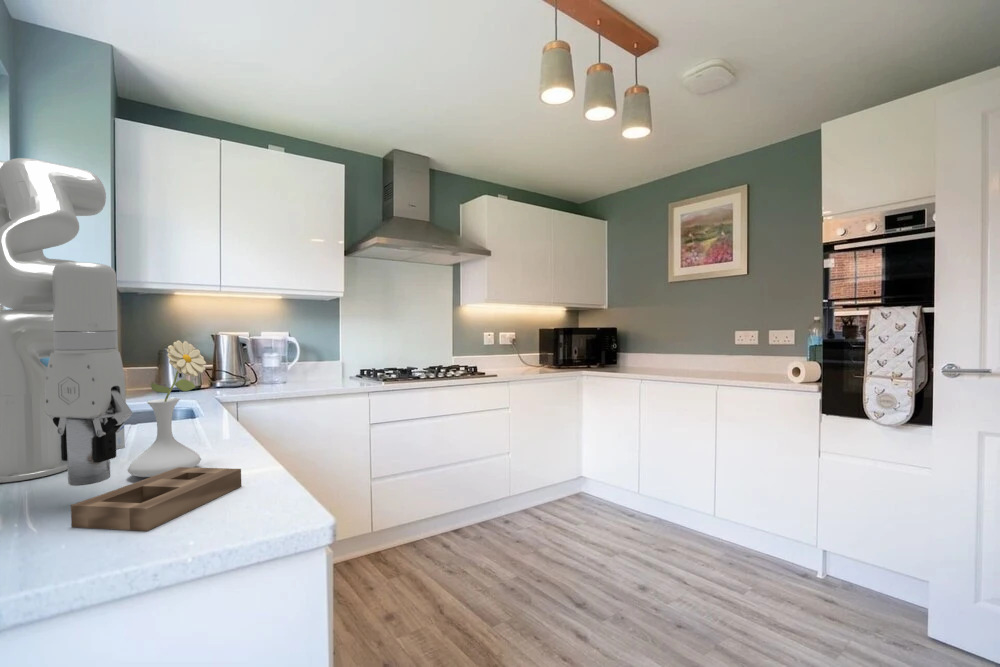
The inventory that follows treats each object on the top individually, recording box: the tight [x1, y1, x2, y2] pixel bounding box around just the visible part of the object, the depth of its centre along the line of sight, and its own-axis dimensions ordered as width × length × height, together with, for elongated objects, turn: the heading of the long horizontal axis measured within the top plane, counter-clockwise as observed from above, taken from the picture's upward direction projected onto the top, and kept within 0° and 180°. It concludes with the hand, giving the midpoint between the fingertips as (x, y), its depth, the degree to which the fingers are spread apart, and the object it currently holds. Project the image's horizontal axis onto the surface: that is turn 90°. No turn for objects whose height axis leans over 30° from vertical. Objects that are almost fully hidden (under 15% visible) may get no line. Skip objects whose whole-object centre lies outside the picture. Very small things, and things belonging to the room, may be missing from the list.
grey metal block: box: [66, 413, 111, 487], centre depth 75 cm, size 5×5×10 cm
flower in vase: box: [127, 340, 207, 478], centre depth 91 cm, size 13×11×25 cm
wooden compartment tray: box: [70, 467, 242, 532], centre depth 73 cm, size 12×18×3 cm, turn 171°
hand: (89, 458), depth 75 cm, fingers closed on grey metal block, 5 cm apart
